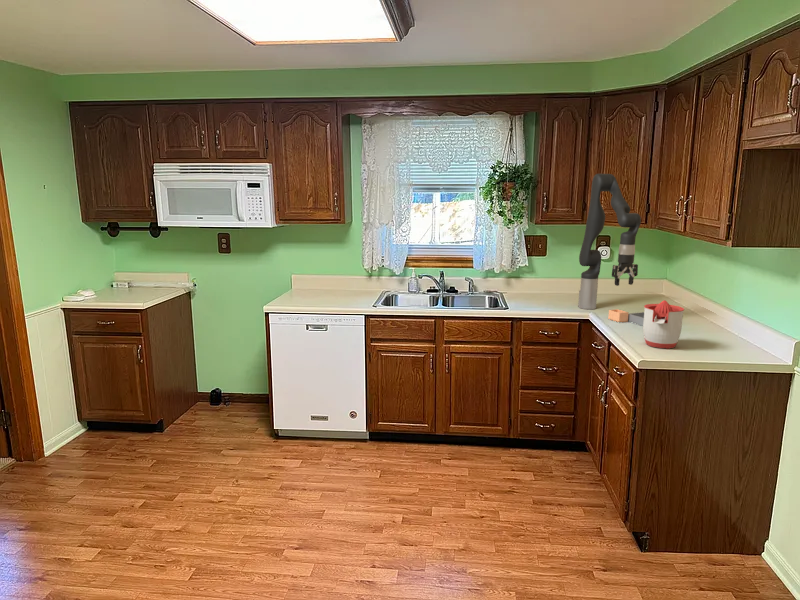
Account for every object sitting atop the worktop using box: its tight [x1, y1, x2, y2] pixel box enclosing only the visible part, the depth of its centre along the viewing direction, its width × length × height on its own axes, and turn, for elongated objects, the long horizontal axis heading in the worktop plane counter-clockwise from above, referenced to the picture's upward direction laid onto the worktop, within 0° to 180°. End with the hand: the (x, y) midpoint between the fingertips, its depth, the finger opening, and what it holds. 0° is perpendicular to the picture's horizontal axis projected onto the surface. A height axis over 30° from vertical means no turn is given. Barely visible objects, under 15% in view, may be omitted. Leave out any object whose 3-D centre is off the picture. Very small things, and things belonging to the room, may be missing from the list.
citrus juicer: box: [642, 299, 685, 350], centre depth 241 cm, size 16×17×20 cm
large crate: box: [628, 311, 644, 327], centre depth 284 cm, size 12×14×4 cm
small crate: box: [607, 308, 630, 323], centre depth 288 cm, size 8×6×5 cm
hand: (623, 285), depth 284 cm, fingers open, 8 cm apart
